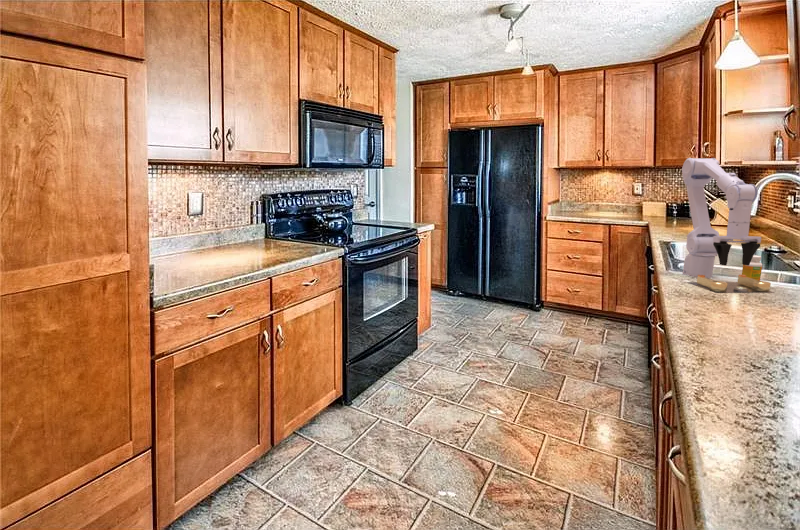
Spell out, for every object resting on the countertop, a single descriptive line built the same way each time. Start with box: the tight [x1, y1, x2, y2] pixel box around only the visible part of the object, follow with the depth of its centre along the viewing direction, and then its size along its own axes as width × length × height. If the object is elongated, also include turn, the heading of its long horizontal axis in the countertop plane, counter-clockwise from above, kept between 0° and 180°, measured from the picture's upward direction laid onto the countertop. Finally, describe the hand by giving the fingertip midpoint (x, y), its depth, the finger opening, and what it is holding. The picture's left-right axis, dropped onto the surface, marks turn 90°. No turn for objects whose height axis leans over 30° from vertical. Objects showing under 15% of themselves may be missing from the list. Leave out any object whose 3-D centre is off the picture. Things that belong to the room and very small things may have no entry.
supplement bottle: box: [741, 254, 763, 281], centre depth 166 cm, size 5×5×10 cm
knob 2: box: [736, 274, 772, 292], centre depth 154 cm, size 11×4×3 cm, turn 3°
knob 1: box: [696, 275, 728, 292], centre depth 153 cm, size 11×4×3 cm, turn 3°
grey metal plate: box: [687, 281, 775, 294], centre depth 155 cm, size 14×19×3 cm
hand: (734, 265), depth 154 cm, fingers open, 7 cm apart
